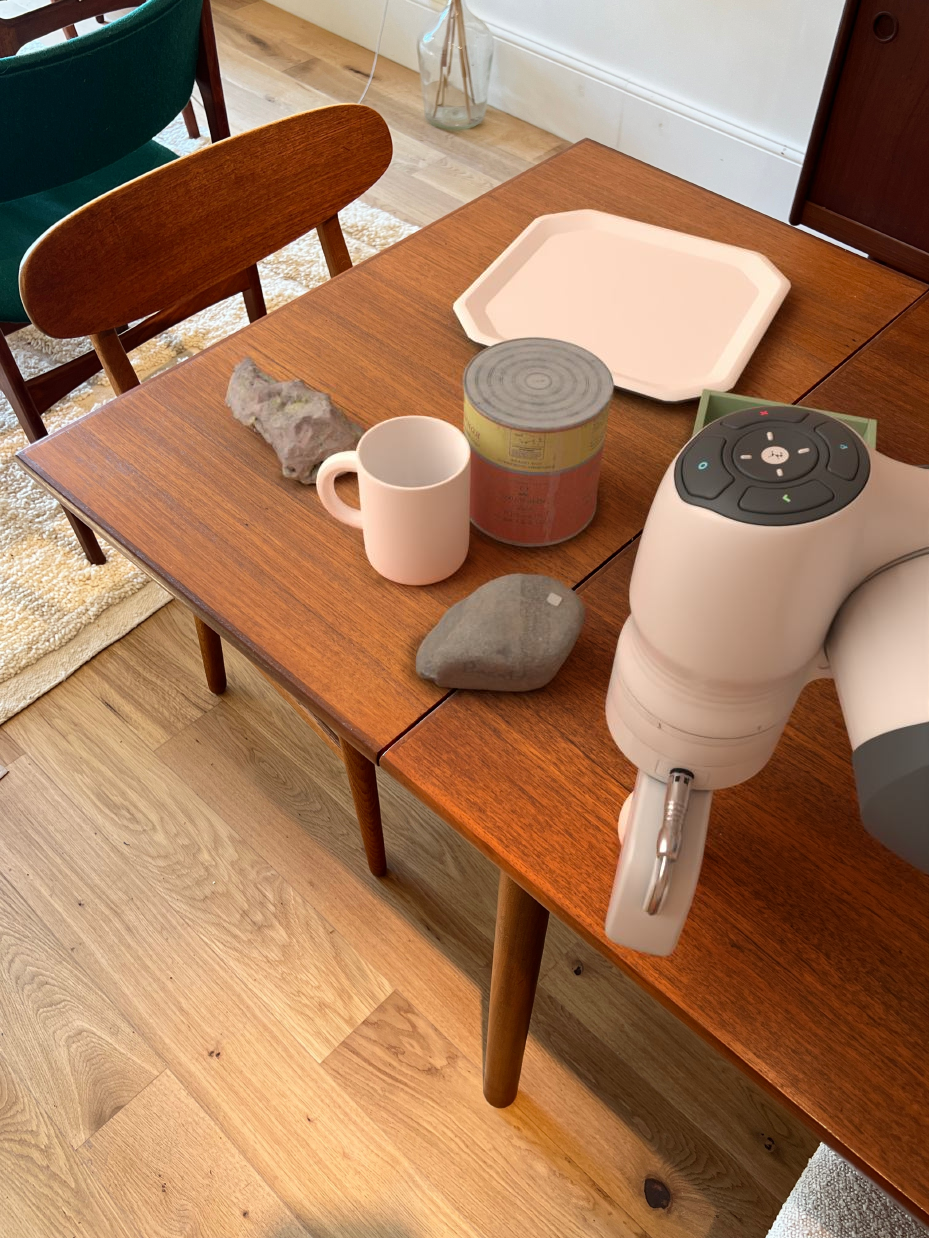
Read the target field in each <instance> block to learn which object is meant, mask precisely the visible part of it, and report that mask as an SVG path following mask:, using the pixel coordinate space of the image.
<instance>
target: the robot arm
mask: <svg viewBox="0 0 929 1238" xmlns="http://www.w3.org/2000/svg"><path fill="white" fill-rule="evenodd" d="M648 511H649V512H648V514H647V516H646V517H647V518H646V521H645V524H644V526H643V530H642V534H641V537H640V540H639V544H638V548H637V552H636V556H635V560H634V564H633V568H632V573H631V577H630V583H629V590H628V591H629V592H628V595H629V606H630V614H629V615H628V617H627V618H626V620H625V622H624V624H623V626H622V629H621V630H620V634H619V636H618V641H617V644H616V648H615V649H616V650H615V654H614V660H613V664H612V669H611V674H610V678H609V684H608V688H607V693H606V698H605V709H604V710H605V719H606V723H607V728H608V730H609V732H610V735H611V737H612V739H613V741H614V743H615V744H616V746H617V747H618V749H619V751H620V752H622V754H623V755H624V756H625V758H626V759H628V761H630V762H631V763H632V764H633V765H634V766H635V767H636V768H638V769H637V773H636V778H635V783H634V787H633V791H634V792H633V791H632V792H633V796H632V801H631V805H630V810H629V815H628V819H627V824H626V829H625V833H624V838H623V842H622V845H621V847H620V852H619V858H618V861H617V866H616V871H615V876H614V880H613V885H612V889H611V893H610V898H609V903H608V908H607V912H606V918H605V922H604V923H605V924H604V927H605V928H604V932H605V936H606V937H607V939H608V940H609V941H610V942H612V943H613V944H616V945H619V946H621V947H625V948H626V949H630V950H633V951H636V952H640V953H643V954H648V955H653V956H656V957H657V956H658V957H668V956H670V955H672V954H673V953H674V951H675V950H676V948H677V945H678V943H679V940H680V937H681V935H682V932H683V929H684V927H685V923H686V921H687V918H688V916H689V912H690V909H691V906H692V903H693V899H694V897H695V893H696V890H697V887H698V884H699V883H698V882H699V878H700V875H701V870H702V865H703V861H704V853H705V847H706V840H707V834H708V828H709V823H710V816H711V815H710V814H711V810H712V803H713V802H712V801H713V796H714V791H717V790H722V789H727V788H731V787H735V786H738V785H739V784H743V783H744V782H746V781H748V780H750V779H751V778H753V777H754V776H756V775H757V774H758V773H759V772H760V771H762V770H763V768H764V767H765V766H766V765H767V764H768V762H769V761H770V760H771V758H772V756H773V754H774V753H775V750H776V748H777V746H778V743H779V741H780V739H781V737H782V735H783V732H784V730H785V728H786V726H787V723H788V721H789V719H790V716H791V714H792V713H793V710H794V708H795V706H796V704H797V702H798V700H799V697H800V695H801V693H802V691H803V690H804V688H805V687H806V686H808V684H809V683H811V682H813V681H815V680H819V679H830V680H833V683H834V687H835V690H836V694H837V697H838V701H839V705H840V709H841V712H842V716H843V720H844V724H845V728H846V731H847V735H848V738H849V742H850V745H851V749H852V754H851V764H852V770H853V774H854V775H853V776H854V777H853V778H854V782H855V790H856V794H857V795H856V796H857V800H858V807H859V813H860V821H861V823H862V826H863V828H864V830H865V831H866V832H867V833H868V834H869V835H870V836H871V837H872V838H874V839H875V840H876V841H878V842H879V843H880V844H881V845H882V846H884V847H885V848H886V849H888V850H889V851H890V852H891V853H892V854H894V855H895V856H897V857H898V858H900V859H901V860H903V861H904V862H906V863H907V864H909V865H910V866H912V867H913V868H915V869H916V870H919V871H920V872H922V873H924V874H926V875H928V876H929V464H909V463H904V462H902V461H899V460H896V459H893V458H891V457H888V456H887V455H885V454H883V453H881V452H880V451H877V449H876V450H874V449H873V448H872V447H871V446H870V445H869V444H868V443H867V442H866V441H865V440H864V439H863V438H862V437H861V436H860V435H859V434H858V433H857V432H856V431H855V430H854V429H853V428H851V427H850V426H848V425H847V424H845V423H844V422H842V421H840V420H838V419H836V418H834V417H832V416H829V415H827V414H824V413H821V412H818V411H814V410H810V409H804V408H798V407H790V406H766V407H755V408H749V409H745V410H741V411H737V412H734V413H731V414H729V415H726V416H724V417H721V418H719V419H717V420H715V421H714V422H712V423H710V424H709V425H707V426H706V427H704V428H703V429H702V430H701V431H699V432H698V433H697V434H696V435H695V436H694V437H693V438H692V437H691V438H690V439H689V441H687V443H685V444H684V446H683V447H682V448H680V450H679V452H677V454H676V455H675V457H674V458H673V459H672V461H671V463H670V464H669V466H668V468H667V470H666V472H665V473H664V475H663V477H662V479H661V481H660V484H659V486H658V488H657V490H656V492H655V496H654V498H653V501H652V503H651V506H650V509H649V510H648Z"/></svg>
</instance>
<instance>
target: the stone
mask: <svg viewBox="0 0 929 1238" xmlns="http://www.w3.org/2000/svg"><path fill="white" fill-rule="evenodd" d="M585 619H586V606H585V604H584V602H583V600H582V599H581V597H580V596H579V595H578V594H577V593H576V592H575V591H574V590H573V589H572V588H571V587H569V586H568V585H566V584H565V583H563V582H561V581H560V580H558V579H556V578H555V577H551V576H547V575H545V574H536V573H535V574H525V573H520V572H517V573H510V574H505V575H502V576H499V577H497V578H494V579H492V580H489V581H487V582H486V583H484V584H482V585H481V586H479V587H478V588H476V590H474V591H473V592H471V593H470V594H469V595H468V596H466V597H465V598H463V599H460V600H459V601H458V602H456V603H455V604H453V605H452V606H450V607H449V608H448V609H447V610H446V611H445V612H444V614H443V615H442V617H441V618H440V620H439V621H438V623H436V625H435V626H433V628H432V629H431V630H430V631H429V632H428V633H427V635H426V636H425V637H424V639H423V640H422V642H421V644H420V646H419V647H418V650H417V653H416V657H415V670H416V671H415V672H416V674H417V675H418V676H419V677H420V678H421V679H423V680H425V681H428V682H433V683H435V685H437V686H438V687H441V688H449V689H450V688H451V689H463V690H483V691H484V690H485V691H487V690H488V691H494V692H527V691H531V690H532V691H533V690H537V689H540V688H543V687H544V686H546V685H548V684H549V683H550V682H551V681H552V680H553V679H554V677H555V676H556V675H557V673H558V672H559V670H560V669H561V667H562V666H563V664H564V663H565V661H566V660H567V658H568V657H569V655H570V653H571V652H572V651H573V648H574V646H575V645H576V642H577V641H578V638H579V636H580V634H581V631H582V629H583V626H584V623H585Z"/></svg>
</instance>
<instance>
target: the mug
mask: <svg viewBox="0 0 929 1238" xmlns="http://www.w3.org/2000/svg"><path fill="white" fill-rule="evenodd" d="M470 464H471V451H470V446H469V443H468V441H467V439H466V437H465V436H464V432H462V430H460V429H459V428H458V427H456V426H455V425H453V424H452V423H450V422H448V421H445V420H443V419H440V418H437V417H432V416H426V415H403V416H396V417H392V418H390V419H386V420H383V421H381V422H378V423H377V424H375V425H373V426H372V427H371V428H370V429H368V430H366V433H365V434H364V435H363V436H362V438H361V439H360V441H359V443H358V446H357V449H356V451H345V452H340V453H337V454H334V455H332V456H331V457H329V458H328V459H327V460H326V461H325V462H324V463H323V464H322V465H321V467H320V468H319V471H318V474H317V481H316V483H315V484H316V491H317V494H318V497H319V499H320V502H321V503H322V505H323V506H324V508H325V509H326V510H327V512H328V513H329V514H330V515H331V516H332V517H333V518H334V519H336V520H338V521H339V522H341V523H343V524H345V525H347V526H348V527H349V526H350V527H353V528H355V529H358V530H362V534H363V541H364V542H363V543H364V548H365V554H366V556H367V560H368V562H369V563H370V565H371V566H372V568H373V569H374V570H375V571H377V573H378V574H379V575H380V576H382V577H384V578H385V579H387V580H389V581H392V582H394V583H397V584H401V585H408V586H426V585H431V584H435V583H438V582H441V581H444V580H445V579H447V578H449V577H450V576H452V575H453V574H454V573H456V572H457V571H458V570H459V569H460V568H461V566H462V565H463V564H464V562H465V560H466V559H467V555H468V551H469V547H470V546H469V544H470V523H471V521H470ZM344 471H348V472H352V473H357V480H358V481H357V482H358V492H359V504H360V509H358V508H357V509H356V508H354V507H352V506H349V505H347V504H346V503H345V502H343V501H342V500H341V499H340V497H339V496H338V494H337V493H336V490H335V483H334V482H335V479H336V477H335V476H336V475H337V474H338V473H340V472H344Z"/></svg>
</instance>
